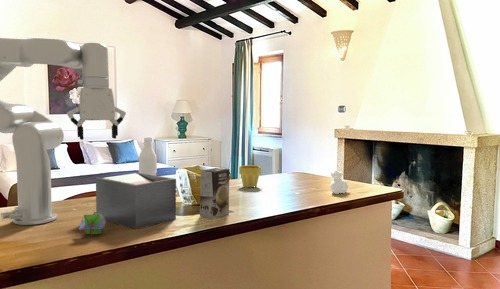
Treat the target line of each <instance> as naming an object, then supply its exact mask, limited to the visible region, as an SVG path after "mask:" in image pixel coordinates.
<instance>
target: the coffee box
mask: <svg viewBox="0 0 500 289" xmlns="http://www.w3.org/2000/svg"><path fill="white" fill-rule="evenodd" d="M230 171H231V170H230V169H229V168H223V167H222V168H220V167H219V168H218V167H214V168H209V169H208V168H207V169H201V170H200V181H199V182H200V187H199V189H200V191H199V192H200V193H199V195H200V196H199V217H202V218H207V219H211V220H215V219H218V218H221V217H224V216H227V215H229V214H230Z"/></svg>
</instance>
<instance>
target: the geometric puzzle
mask: <svg viewBox="0 0 500 289" xmlns="http://www.w3.org/2000/svg"><path fill="white" fill-rule="evenodd" d="M106 222H107V221H106V219H105V218H104V217H103V215H102V214H100V213H97V212H96V211H92V212H91V213H90V214H83V216H82V220H80V223H79V224H80V225H79V226H78V227H79V228H78V230H80V231H81V232H82V233H84V234H85V235H86V236H88V237H90V238H91V239H92V238H93V235H94V236H96V237H97V236H98V235H100V234H102V231H103V230H104V229H105V226H106ZM82 230H84V231H85V232H83V231H82Z"/></svg>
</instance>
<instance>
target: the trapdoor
mask: <svg viewBox="0 0 500 289" xmlns="http://www.w3.org/2000/svg"><path fill="white" fill-rule="evenodd" d="M104 178H105V179H110V180H115V181H120V182H125V183H130V184H135V185H138V184H144V183H150V182H152V181H150V180H148V179H146V178H144V177H142V176H140V175H138V174H136V173H135V172H133V173H128V174H127V173H126V174H122V175H115V176H113V175H112V176H108V177H107V176H106V177H104Z"/></svg>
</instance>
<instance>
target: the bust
mask: <svg viewBox="0 0 500 289" xmlns="http://www.w3.org/2000/svg"><path fill="white" fill-rule="evenodd" d="M330 176H331V178H332V179H333V180H332V181H331V182H330V184H329V187H330V192H332V193H333V192H334V193H333V194H335V195H340V194H339V193H343V194H346V193H347V192H348V191H349V184H348V182H347V181H346V180H344V179H342V176H343V173H342V171H339V170H332V171H331V173H330ZM345 192H346V193H345Z"/></svg>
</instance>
